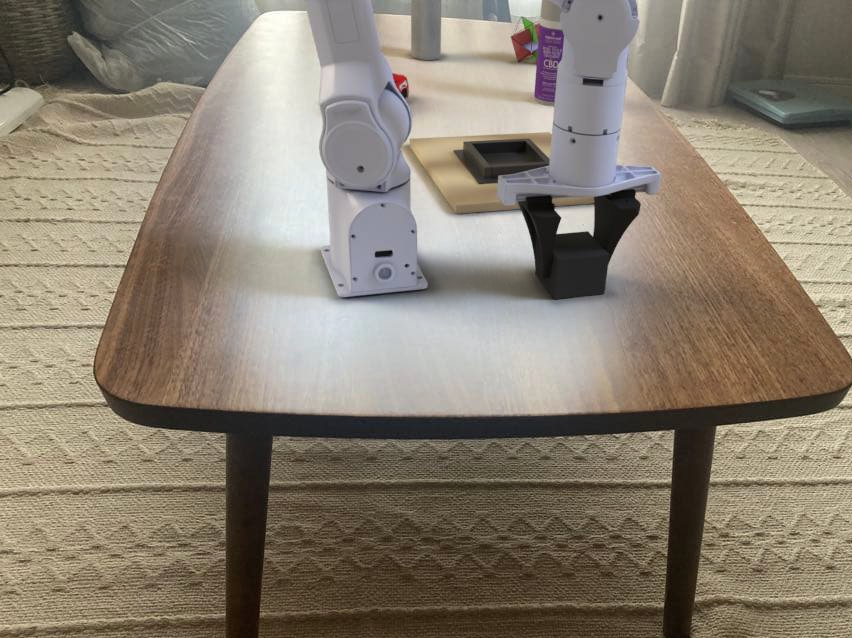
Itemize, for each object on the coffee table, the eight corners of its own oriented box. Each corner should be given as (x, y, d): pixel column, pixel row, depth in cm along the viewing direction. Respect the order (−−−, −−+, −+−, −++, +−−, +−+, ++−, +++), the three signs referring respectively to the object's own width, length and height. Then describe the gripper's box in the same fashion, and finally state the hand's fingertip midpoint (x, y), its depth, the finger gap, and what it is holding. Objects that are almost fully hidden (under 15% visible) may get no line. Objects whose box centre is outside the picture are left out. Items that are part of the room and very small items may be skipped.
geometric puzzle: (511, 55, 141) (543, 9, 139) (492, 43, 146) (522, -2, 144) (542, 81, 146) (573, 38, 144) (523, 69, 151) (552, 26, 149)
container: (538, 106, 129) (548, -11, 120) (530, 95, 132) (538, -19, 124) (571, 105, 130) (582, -10, 121) (561, 95, 134) (572, -18, 125)
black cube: (604, 294, 85) (609, 254, 83) (553, 299, 84) (557, 259, 81) (583, 269, 89) (588, 230, 87) (534, 274, 87) (538, 235, 85)
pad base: (612, 202, 103) (615, 180, 101) (455, 214, 97) (456, 191, 96) (548, 139, 118) (550, 119, 116) (409, 146, 112) (409, 126, 111)
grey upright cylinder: (406, 57, 143) (406, -15, 137) (418, 50, 147) (418, -20, 141) (433, 62, 142) (434, -10, 136) (444, 55, 146) (446, -16, 140)
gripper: (644, 105, 83) (624, 244, 91) (489, 111, 78) (482, 258, 86) (680, 132, 78) (656, 278, 85) (517, 141, 73) (507, 294, 81)
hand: (571, 270), depth 85 cm, fingers closed on black cube, 5 cm apart
